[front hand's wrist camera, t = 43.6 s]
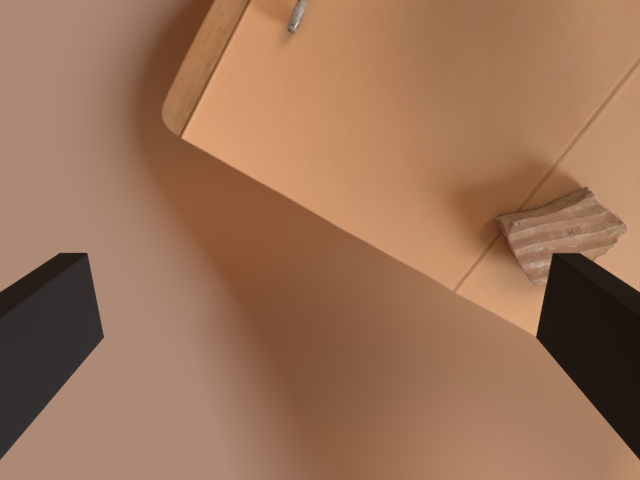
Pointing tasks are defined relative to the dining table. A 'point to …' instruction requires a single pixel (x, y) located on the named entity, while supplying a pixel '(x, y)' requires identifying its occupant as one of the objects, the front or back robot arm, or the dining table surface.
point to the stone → (560, 232)
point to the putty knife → (297, 16)
